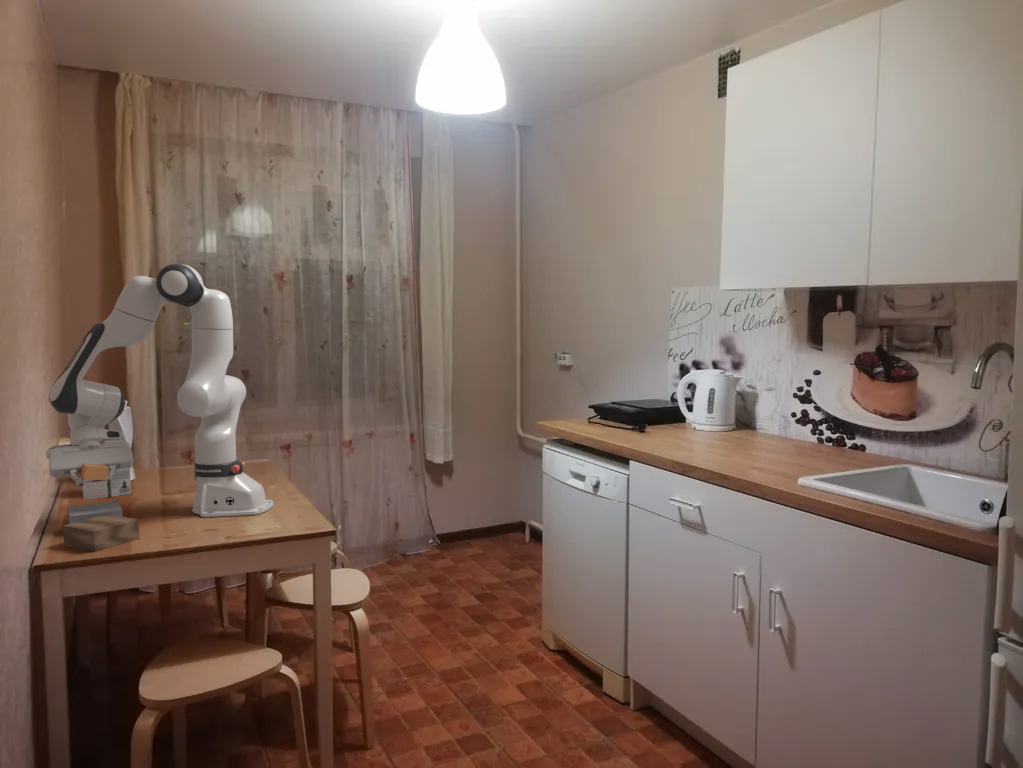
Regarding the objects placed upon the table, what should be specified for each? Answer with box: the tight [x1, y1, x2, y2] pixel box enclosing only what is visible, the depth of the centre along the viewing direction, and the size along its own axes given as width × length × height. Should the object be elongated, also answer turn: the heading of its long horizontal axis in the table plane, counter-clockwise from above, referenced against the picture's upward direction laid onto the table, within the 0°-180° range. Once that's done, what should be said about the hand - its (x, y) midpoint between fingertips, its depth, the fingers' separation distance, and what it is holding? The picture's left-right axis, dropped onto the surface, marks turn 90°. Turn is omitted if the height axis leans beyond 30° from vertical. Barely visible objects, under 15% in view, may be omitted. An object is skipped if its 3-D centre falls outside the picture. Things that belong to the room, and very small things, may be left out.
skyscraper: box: [108, 400, 136, 481], centre depth 259 cm, size 8×8×28 cm
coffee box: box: [107, 468, 132, 498], centre depth 242 cm, size 9×6×16 cm
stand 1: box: [67, 500, 124, 524], centre depth 204 cm, size 12×12×5 cm
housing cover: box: [79, 463, 109, 481], centre depth 202 cm, size 6×6×4 cm
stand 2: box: [62, 514, 140, 553], centre depth 189 cm, size 12×12×5 cm
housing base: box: [82, 479, 109, 501], centre depth 203 cm, size 6×6×4 cm
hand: (94, 483), depth 202 cm, fingers closed on housing base, 5 cm apart
